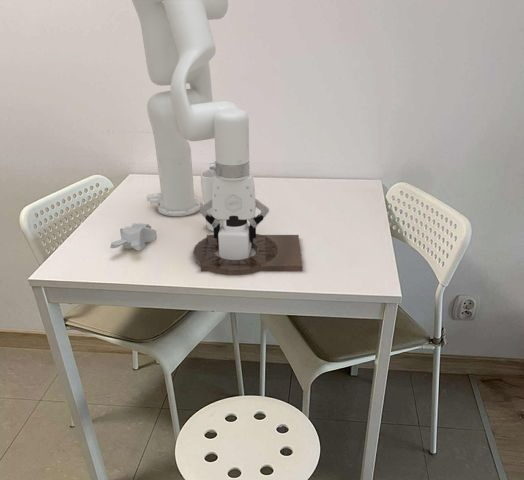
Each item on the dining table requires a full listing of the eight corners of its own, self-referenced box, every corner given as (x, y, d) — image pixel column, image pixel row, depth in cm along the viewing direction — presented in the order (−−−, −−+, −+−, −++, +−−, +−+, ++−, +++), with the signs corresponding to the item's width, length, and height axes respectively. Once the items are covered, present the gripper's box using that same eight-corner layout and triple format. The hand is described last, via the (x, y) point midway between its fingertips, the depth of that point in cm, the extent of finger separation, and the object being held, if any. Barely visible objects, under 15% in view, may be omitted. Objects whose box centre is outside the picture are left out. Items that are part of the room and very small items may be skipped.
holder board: (189, 275, 126) (189, 269, 125) (198, 237, 142) (198, 231, 141) (302, 275, 126) (302, 269, 125) (297, 236, 142) (298, 231, 141)
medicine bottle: (251, 248, 137) (250, 203, 129) (248, 261, 131) (247, 215, 124) (223, 247, 137) (221, 202, 130) (219, 260, 132) (216, 214, 124)
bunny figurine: (160, 220, 141) (142, 238, 128) (162, 239, 144) (144, 258, 131) (126, 218, 142) (104, 236, 129) (128, 237, 145) (107, 256, 132)
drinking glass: (232, 225, 148) (230, 170, 139) (223, 234, 143) (220, 179, 134) (210, 221, 150) (206, 168, 141) (200, 231, 145) (195, 176, 136)
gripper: (192, 174, 118) (198, 247, 129) (271, 174, 118) (270, 247, 129) (196, 163, 124) (201, 234, 135) (271, 163, 124) (270, 234, 135)
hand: (235, 240), depth 132 cm, fingers closed on medicine bottle, 7 cm apart
